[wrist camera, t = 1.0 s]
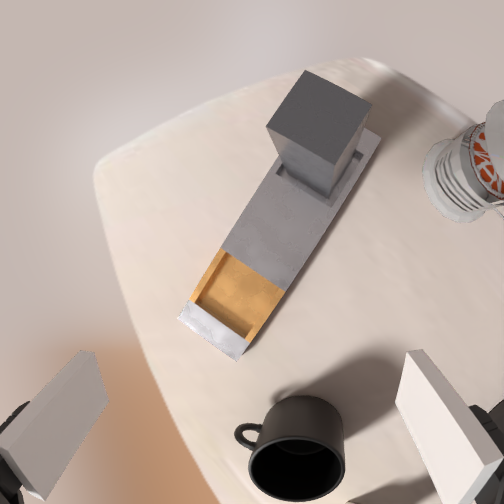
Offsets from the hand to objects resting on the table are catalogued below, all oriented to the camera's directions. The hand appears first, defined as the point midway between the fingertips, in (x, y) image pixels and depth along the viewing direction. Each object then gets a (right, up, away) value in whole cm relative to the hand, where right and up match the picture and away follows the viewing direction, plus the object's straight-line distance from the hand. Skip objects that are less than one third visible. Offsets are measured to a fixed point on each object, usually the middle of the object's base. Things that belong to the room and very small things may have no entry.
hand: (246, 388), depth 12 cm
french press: (+24, +13, +17) cm, 32 cm away
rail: (+3, +8, +22) cm, 23 cm away
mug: (+5, -15, +22) cm, 27 cm away
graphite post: (+7, +14, +20) cm, 26 cm away
